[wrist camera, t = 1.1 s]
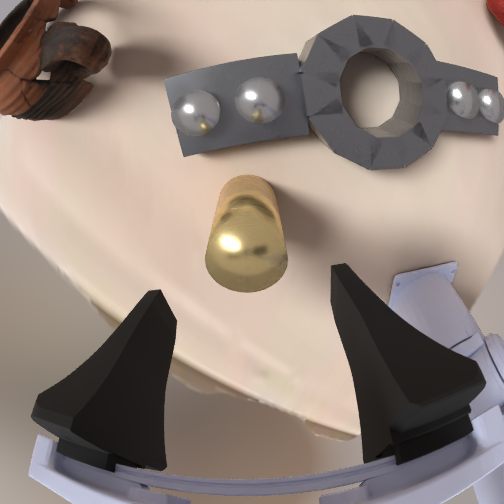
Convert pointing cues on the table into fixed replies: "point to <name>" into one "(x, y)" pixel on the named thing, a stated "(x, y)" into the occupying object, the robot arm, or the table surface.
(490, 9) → the onion
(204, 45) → the table surface
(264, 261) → the pin
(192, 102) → the studded flange bracket
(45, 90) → the rusty ring shackle
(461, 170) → the table surface
